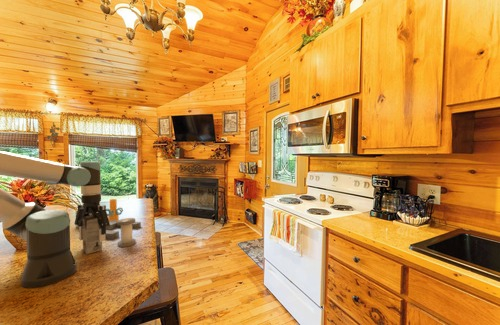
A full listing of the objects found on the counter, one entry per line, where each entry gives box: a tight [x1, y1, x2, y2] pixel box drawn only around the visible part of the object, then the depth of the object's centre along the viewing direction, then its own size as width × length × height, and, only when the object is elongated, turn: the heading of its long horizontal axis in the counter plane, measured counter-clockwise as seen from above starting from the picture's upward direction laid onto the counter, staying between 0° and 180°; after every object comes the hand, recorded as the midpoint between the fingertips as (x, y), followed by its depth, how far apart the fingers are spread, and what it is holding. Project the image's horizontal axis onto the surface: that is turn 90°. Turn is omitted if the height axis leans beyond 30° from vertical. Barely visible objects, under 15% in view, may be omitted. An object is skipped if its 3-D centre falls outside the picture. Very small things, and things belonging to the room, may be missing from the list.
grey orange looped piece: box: [106, 198, 124, 221], centre depth 147 cm, size 12×10×15 cm
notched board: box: [102, 220, 142, 240], centre depth 127 cm, size 21×22×3 cm
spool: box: [117, 217, 137, 248], centre depth 108 cm, size 8×8×12 cm
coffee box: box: [82, 214, 103, 255], centre depth 102 cm, size 9×6×16 cm
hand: (92, 240), depth 102 cm, fingers closed on coffee box, 10 cm apart
